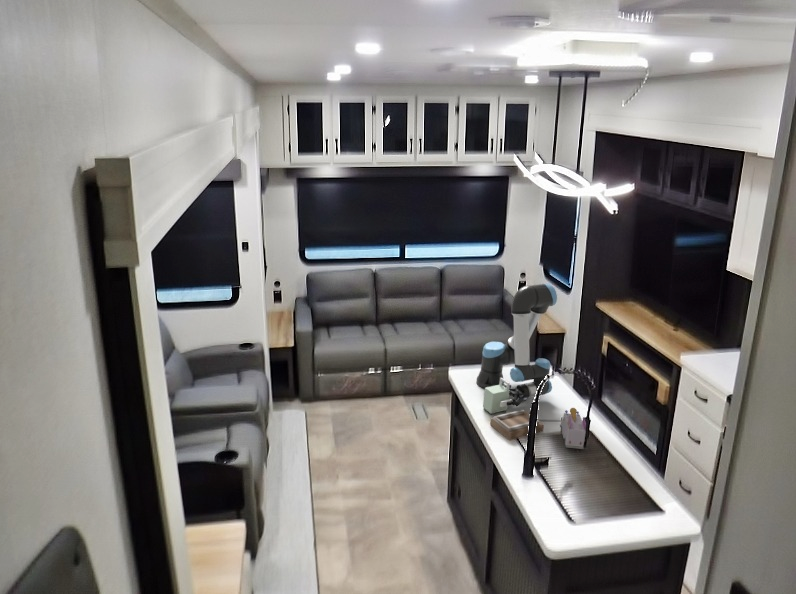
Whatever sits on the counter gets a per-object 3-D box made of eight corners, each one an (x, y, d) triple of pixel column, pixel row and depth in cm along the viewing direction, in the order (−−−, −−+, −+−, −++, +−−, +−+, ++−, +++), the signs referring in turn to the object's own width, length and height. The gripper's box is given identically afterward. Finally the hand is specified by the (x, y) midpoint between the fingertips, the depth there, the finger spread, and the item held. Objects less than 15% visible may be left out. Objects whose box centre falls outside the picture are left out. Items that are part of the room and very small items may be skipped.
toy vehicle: (576, 431, 301) (581, 403, 297) (584, 453, 283) (589, 423, 278) (557, 429, 302) (561, 401, 297) (563, 451, 283) (568, 421, 279)
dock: (522, 416, 311) (523, 407, 310) (542, 431, 299) (544, 421, 297) (489, 424, 302) (491, 414, 300) (509, 440, 289) (510, 430, 288)
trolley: (498, 405, 322) (501, 377, 317) (506, 411, 316) (510, 383, 311) (482, 408, 317) (485, 380, 312) (490, 415, 311) (494, 386, 306)
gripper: (540, 408, 314) (507, 416, 304) (509, 387, 334) (477, 394, 324) (542, 394, 311) (508, 402, 301) (511, 374, 332) (478, 381, 322)
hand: (492, 398), depth 313 cm, fingers open, 13 cm apart
